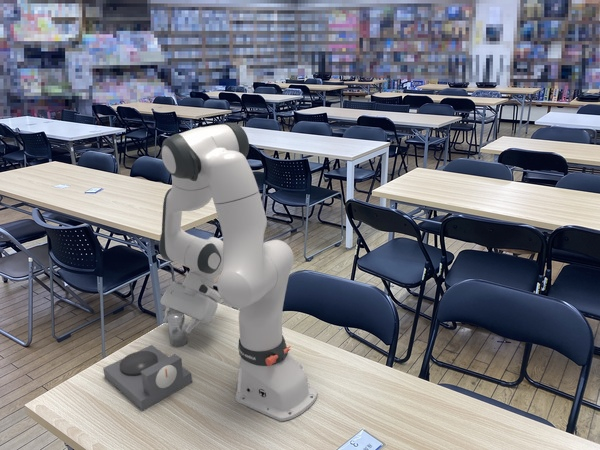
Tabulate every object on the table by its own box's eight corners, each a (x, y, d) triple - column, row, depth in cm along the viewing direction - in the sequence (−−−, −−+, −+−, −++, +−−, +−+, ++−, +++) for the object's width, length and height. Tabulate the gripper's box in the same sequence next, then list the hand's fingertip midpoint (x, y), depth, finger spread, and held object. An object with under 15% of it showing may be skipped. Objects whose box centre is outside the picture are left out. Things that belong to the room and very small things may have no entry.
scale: (193, 382, 130) (190, 354, 127) (143, 412, 120) (139, 381, 116) (152, 353, 143) (149, 326, 140) (104, 377, 133) (99, 348, 130)
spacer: (190, 342, 148) (187, 313, 145) (176, 349, 145) (173, 320, 142) (181, 336, 152) (177, 308, 148) (167, 342, 148) (163, 314, 145)
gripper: (168, 274, 153) (147, 314, 149) (214, 291, 142) (192, 334, 138) (180, 281, 158) (160, 320, 154) (225, 298, 147) (204, 340, 143)
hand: (175, 327), depth 146 cm, fingers open, 8 cm apart
